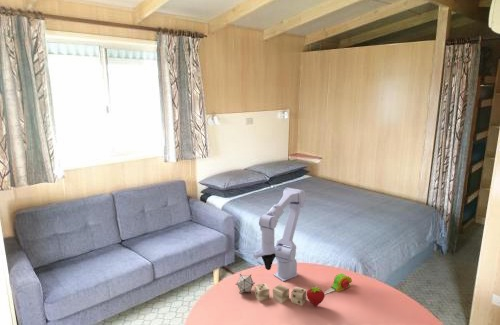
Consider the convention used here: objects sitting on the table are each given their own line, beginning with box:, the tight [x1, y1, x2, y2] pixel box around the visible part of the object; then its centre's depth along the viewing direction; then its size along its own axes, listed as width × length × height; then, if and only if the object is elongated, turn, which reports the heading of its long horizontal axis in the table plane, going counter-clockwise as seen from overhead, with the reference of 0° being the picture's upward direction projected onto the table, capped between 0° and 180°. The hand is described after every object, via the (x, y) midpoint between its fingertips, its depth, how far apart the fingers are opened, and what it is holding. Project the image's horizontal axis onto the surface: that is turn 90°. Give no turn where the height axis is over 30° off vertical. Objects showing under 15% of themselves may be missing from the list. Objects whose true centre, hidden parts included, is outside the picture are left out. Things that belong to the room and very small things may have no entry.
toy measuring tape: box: [323, 273, 353, 295], centre depth 157 cm, size 6×20×7 cm, turn 118°
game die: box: [235, 273, 256, 294], centre depth 156 cm, size 9×8×10 cm
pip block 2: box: [290, 286, 307, 307], centre depth 149 cm, size 5×5×5 cm
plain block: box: [272, 284, 290, 304], centre depth 151 cm, size 5×5×5 cm
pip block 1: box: [254, 282, 270, 302], centre depth 152 cm, size 5×5×5 cm
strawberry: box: [306, 285, 326, 307], centre depth 144 cm, size 6×8×10 cm
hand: (268, 269), depth 156 cm, fingers closed
